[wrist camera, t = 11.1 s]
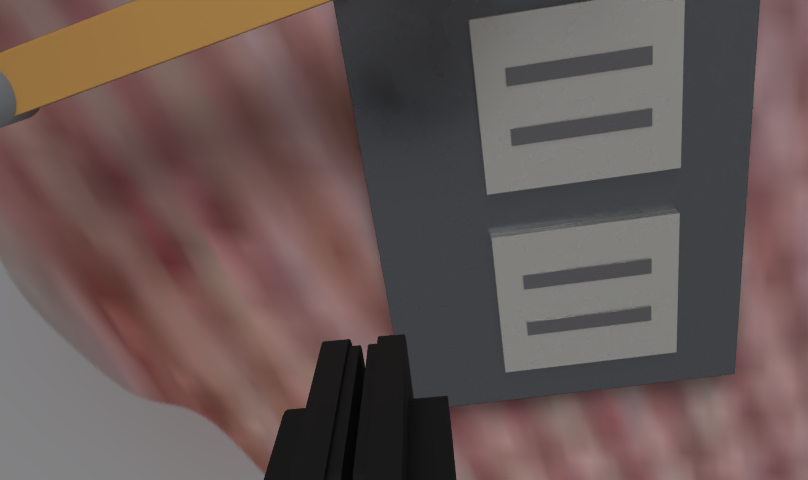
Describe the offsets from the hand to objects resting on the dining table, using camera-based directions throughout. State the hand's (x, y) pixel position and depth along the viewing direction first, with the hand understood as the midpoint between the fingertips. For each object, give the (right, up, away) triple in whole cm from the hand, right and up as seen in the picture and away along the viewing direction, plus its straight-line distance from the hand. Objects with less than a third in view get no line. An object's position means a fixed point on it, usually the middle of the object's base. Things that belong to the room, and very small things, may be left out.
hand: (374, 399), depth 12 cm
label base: (+7, +7, +15) cm, 18 cm away
